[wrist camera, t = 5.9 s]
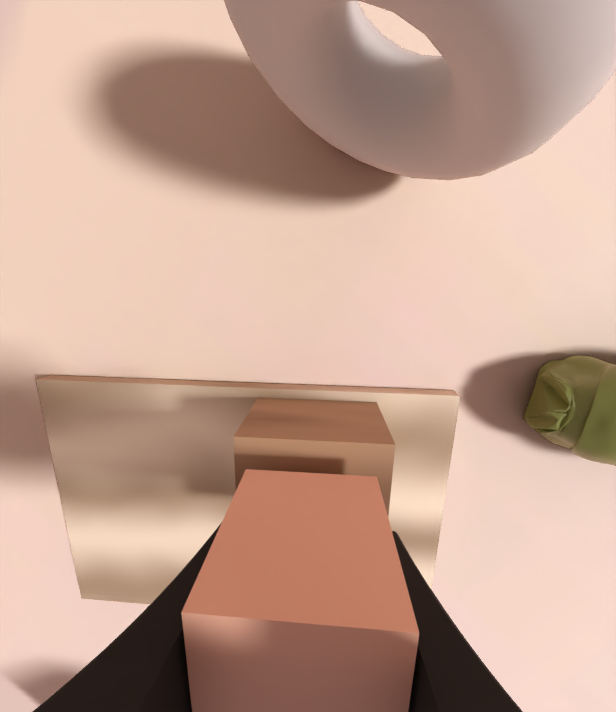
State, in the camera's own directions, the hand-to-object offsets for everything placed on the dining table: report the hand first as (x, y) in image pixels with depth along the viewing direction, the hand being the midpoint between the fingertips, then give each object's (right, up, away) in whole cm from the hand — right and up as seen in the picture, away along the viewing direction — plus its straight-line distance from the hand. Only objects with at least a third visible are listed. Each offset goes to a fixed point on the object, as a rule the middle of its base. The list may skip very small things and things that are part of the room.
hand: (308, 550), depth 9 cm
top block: (0, 0, +1) cm, 1 cm away
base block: (0, +1, +6) cm, 6 cm away
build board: (-4, -2, +8) cm, 9 cm away
